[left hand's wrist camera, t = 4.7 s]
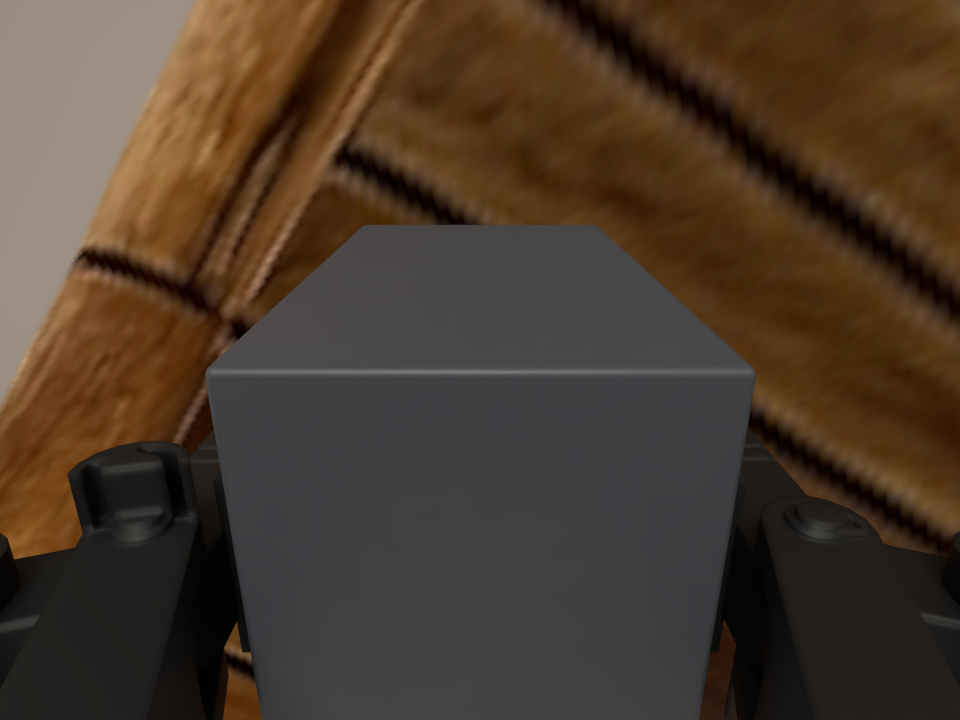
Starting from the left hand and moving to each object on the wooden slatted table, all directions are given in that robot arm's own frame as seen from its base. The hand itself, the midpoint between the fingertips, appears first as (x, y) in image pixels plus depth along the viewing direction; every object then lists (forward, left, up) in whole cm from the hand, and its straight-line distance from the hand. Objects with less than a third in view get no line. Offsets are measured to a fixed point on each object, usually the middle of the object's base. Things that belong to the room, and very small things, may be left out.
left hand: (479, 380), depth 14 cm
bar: (-4, +8, -1) cm, 9 cm away
